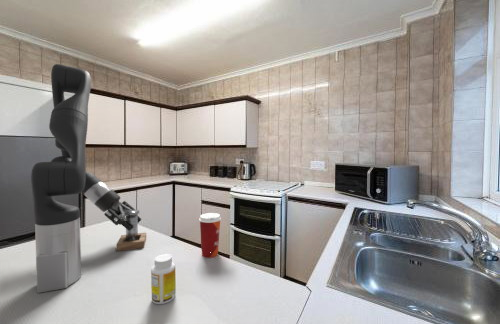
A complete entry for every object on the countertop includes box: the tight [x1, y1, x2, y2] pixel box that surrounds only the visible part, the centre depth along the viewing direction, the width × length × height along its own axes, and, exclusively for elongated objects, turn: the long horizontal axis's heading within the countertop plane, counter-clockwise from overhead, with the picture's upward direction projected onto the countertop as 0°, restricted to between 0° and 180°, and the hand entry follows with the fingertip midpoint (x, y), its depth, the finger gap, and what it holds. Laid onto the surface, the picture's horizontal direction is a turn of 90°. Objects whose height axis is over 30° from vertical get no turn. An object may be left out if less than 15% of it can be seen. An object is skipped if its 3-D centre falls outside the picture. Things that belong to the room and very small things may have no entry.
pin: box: [124, 209, 140, 241], centre depth 83 cm, size 5×5×13 cm
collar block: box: [115, 232, 147, 252], centre depth 84 cm, size 9×9×2 cm
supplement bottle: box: [150, 253, 177, 305], centre depth 53 cm, size 6×6×10 cm
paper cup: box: [198, 212, 222, 259], centre depth 76 cm, size 8×8×14 cm
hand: (135, 224), depth 84 cm, fingers open, 8 cm apart
